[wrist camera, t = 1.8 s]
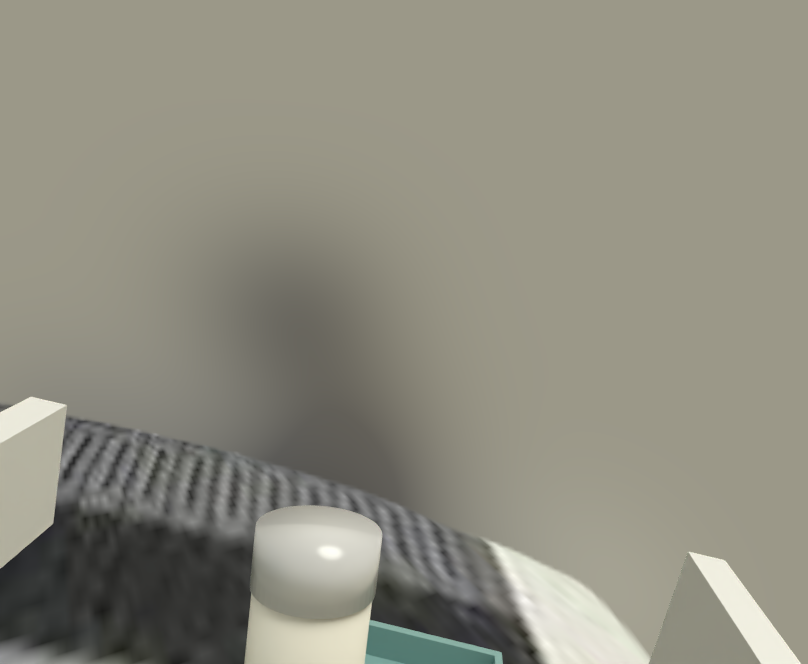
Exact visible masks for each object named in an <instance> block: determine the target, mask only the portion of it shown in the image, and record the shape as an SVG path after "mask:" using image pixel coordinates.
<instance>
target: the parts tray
mask: <svg viewBox="0 0 808 664" xmlns="http://www.w3.org/2000/svg"><path fill="white" fill-rule="evenodd" d="M364 664H503V661H502V652H498V651H494V650H490V649H486V648H482V647H478V646H474V645H469V644H465V643H461V642H457V641H453V640H449V639H445V638H441V637H437V636H433V635H429V634H425V633H421V632H417V631H413V630H409V629H405V628H401V627H397V626H393V625H389V624H384V623H380V622H376V621H372V620H370V621H369V630H368V638H367V646H366V655H365V663H364Z"/></svg>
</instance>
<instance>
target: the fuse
mask: <svg viewBox="0 0 808 664" xmlns="http://www.w3.org/2000/svg"><path fill="white" fill-rule="evenodd" d="M381 542H382V531H381V529H380V528H379V526H378V525H377V524H376V523H374V522H373V521H372V520H370V519H368V518H366V517H364V516H362V515H360V514H357V513H354V512H351V511H348V510H344V509H339V508H333V507H326V506H292V507H285V508H281V509H277V510H274V511H271V512H268V513H267V514H265V515H263V516H262V517H260V519H259V520H258V521H257V523H256V529H255V538H254V548H253V558H252V568H251V578H250V590H251V593H252V594H251V604H250V614H249V623H248V633H247V643H246V653H245V663H244V664H364V663H365V655H366V646H367V638H368V630H369V621H370V613H371V605H372V601H373V599H374V597H375V592H376V584H377V575H378V567H379V559H380V550H381Z"/></svg>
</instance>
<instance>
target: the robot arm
mask: <svg viewBox="0 0 808 664" xmlns="http://www.w3.org/2000/svg"><path fill="white" fill-rule="evenodd" d="M66 409H67V405H64V404H60V403H56V402H51V401H47V400H43V399H38V398H34V397H30V398H28V399H26V400H24V401H22V402H20V403H18V404H16V405H14V406H12V407H10V408H8V409H6V410H4V411H2V412H0V568H1V567H3V566H4V565H5V564H6V563H7V562H8V561H10V560H11V559H12V558H13V557H14V556H16V555H17V554H18V553H19V552H20V551H21V550H23V549H24V548H25V547H26V546H27V545H28V544H30V543H31V542H32V541H33V540H34V539H35V538H37V537H38V536H39V535H40V534H41V533H43V532H44V531H45V530H46V529H47V528H48V527H50V526H51V525H52V524H53V519H54V511H55V502H56V494H57V485H58V477H59V468H60V460H61V451H62V443H63V434H64V426H65V417H66ZM649 664H801V663H800V662H799V660H798V659H797V658H796V656H795V655H794V654H793V652H792V651H791V649H790V648H789V647H788V645H787V644H786V643H785V641H784V640H783V639H782V637H781V636H780V635H779V633H778V632H777V631H776V629H775V628H774V626H773V625H772V624H771V622H770V621H769V620H768V618H767V617H766V615H765V614H764V613H763V611H762V610H761V609H760V607H759V606H758V605H757V603H756V602H755V601H754V599H753V598H752V596H751V595H750V594H749V592H748V591H747V590H746V588H745V587H744V586H743V584H742V583H741V582H740V580H739V579H738V577H737V576H736V575H735V573H734V572H733V571H732V569H731V568H730V567H729V565H728V564H727V562H726V561H725V560H721V559H717V558H713V557H709V556H704V555H700V554H696V553H692V552H688V553H687V556H686V559H685V562H684V565H683V568H682V570H681V574H680V576H679V579H678V582H677V585H676V588H675V590H674V593H673V596H672V599H671V602H670V605H669V608H668V611H667V613H666V616H665V619H664V622H663V625H662V628H661V631H660V634H659V636H658V639H657V642H656V645H655V648H654V651H653V653H652V656H651V659H650V662H649Z"/></svg>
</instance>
